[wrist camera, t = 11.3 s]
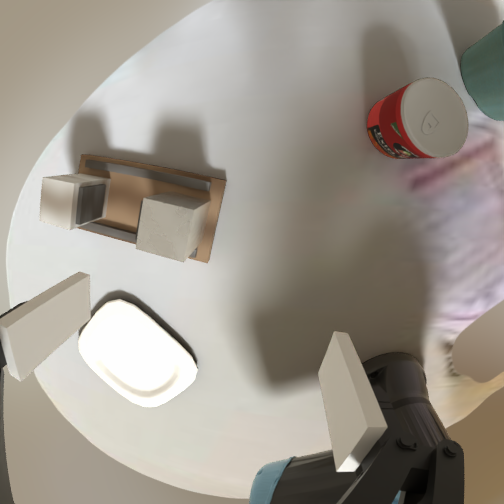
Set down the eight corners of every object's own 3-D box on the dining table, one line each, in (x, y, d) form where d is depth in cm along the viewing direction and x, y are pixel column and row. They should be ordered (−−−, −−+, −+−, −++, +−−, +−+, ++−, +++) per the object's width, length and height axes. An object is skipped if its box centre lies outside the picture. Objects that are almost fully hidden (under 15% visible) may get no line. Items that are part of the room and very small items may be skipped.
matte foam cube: (211, 200, 33) (194, 210, 25) (201, 241, 35) (183, 262, 27) (166, 189, 33) (137, 196, 25) (158, 230, 34) (130, 247, 27)
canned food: (355, 139, 31) (391, 128, 21) (378, 87, 29) (418, 60, 19) (405, 170, 32) (454, 174, 21) (426, 119, 30) (476, 108, 19)
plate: (73, 343, 43) (68, 348, 41) (121, 281, 38) (116, 285, 37) (149, 409, 45) (146, 415, 44) (213, 364, 41) (211, 371, 40)
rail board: (209, 260, 36) (191, 288, 28) (77, 224, 36) (36, 240, 27) (226, 180, 34) (212, 184, 25) (86, 154, 33) (42, 154, 24)
